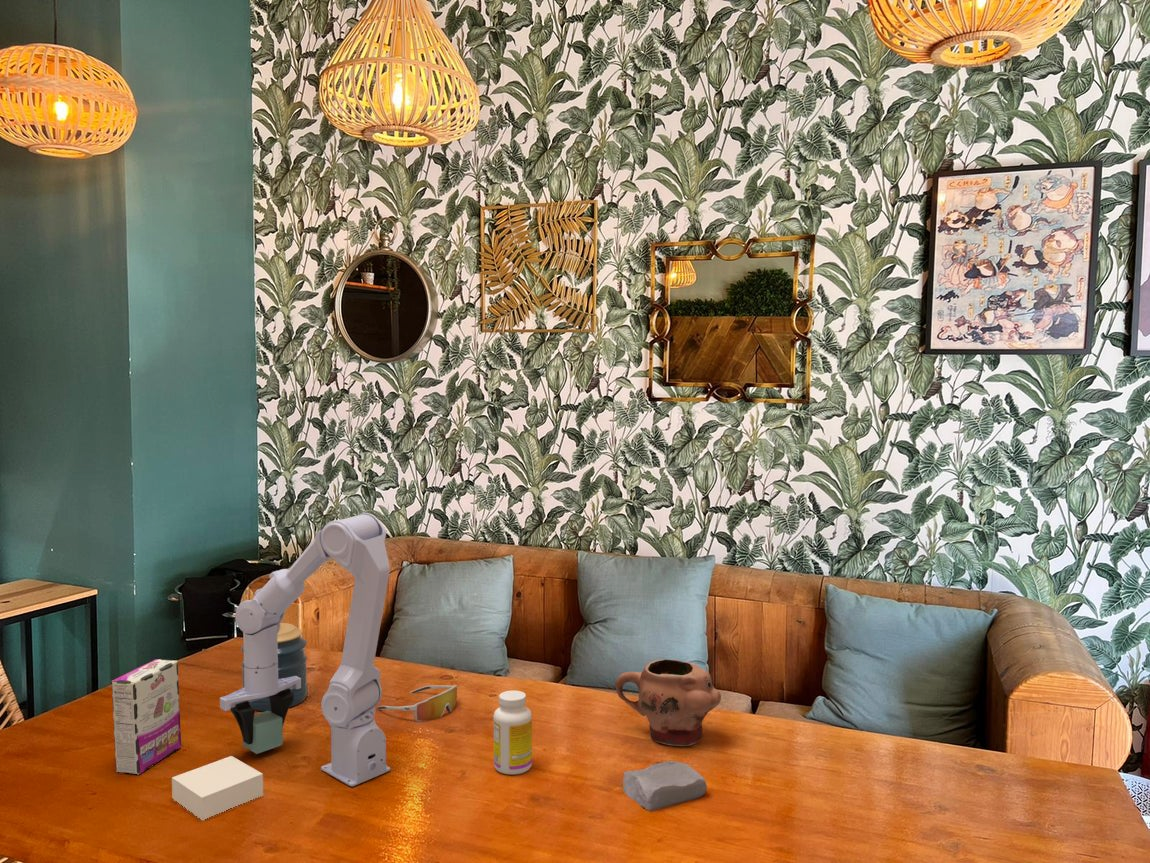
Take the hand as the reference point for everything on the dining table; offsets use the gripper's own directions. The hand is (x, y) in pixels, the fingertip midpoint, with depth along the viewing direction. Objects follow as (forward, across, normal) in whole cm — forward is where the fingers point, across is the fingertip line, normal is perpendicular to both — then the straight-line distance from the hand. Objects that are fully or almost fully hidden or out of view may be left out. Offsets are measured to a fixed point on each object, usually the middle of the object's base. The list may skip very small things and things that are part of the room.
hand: (262, 737), depth 149 cm
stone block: (+4, -36, +62) cm, 72 cm away
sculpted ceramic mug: (+3, -54, +51) cm, 74 cm away
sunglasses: (+3, -32, +5) cm, 33 cm away
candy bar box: (+3, +15, -12) cm, 19 cm away
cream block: (+3, +13, +10) cm, 17 cm away
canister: (+3, -14, -21) cm, 25 cm away
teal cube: (+2, 0, 0) cm, 2 cm away
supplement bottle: (+3, -26, +38) cm, 46 cm away
